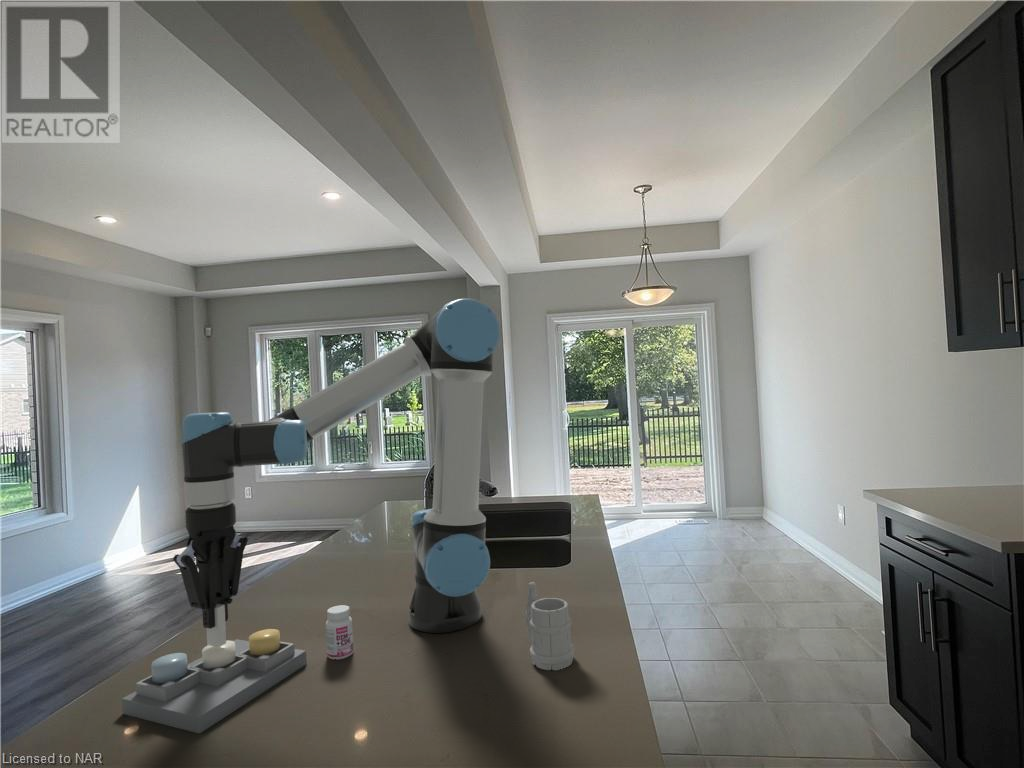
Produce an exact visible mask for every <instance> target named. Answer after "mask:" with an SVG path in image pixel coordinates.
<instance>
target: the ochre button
mask: <svg viewBox="0 0 1024 768" xmlns="http://www.w3.org/2000/svg"><path fill="white" fill-rule="evenodd" d="M280 634H281V633H280V629H276V628H265V629H262V630H258V631H256V632H253V633H252V634H250V635H249V636H248V641H249V653H250V654H252V655H264V654H269V653H271V652H274V651H276V650H277V649H279V647H280V642H281V635H280Z"/></svg>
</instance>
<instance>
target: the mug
mask: <svg viewBox="0 0 1024 768" xmlns="http://www.w3.org/2000/svg"><path fill="white" fill-rule="evenodd" d="M525 609H526V612H525V623H526V631H527V634H528V635H529V639H530V642H531V646H530V648H529V654H530V655H529V656H530V657H531V662H532V664H533V666H536V668H538V669H539V670H544V671H551V670H552V671H553V670H554V671H560V669H561V670H564V669H566V667H567V668H569V667H570V666H571V665H572V663H573V660H574V658H573V657H574V656H575V648H574V645H573V644H572V636H571V635H572V634H571V627H572V624H573V623H572V619H571V618H570V615H569V614H570V613H569V604H568V602H567V601H566V600H565V599H562V598H557V597H551V598H550V597H544V598H540V597H539V594H538V589H537V585H536V583H535V582H534V581H532V582H528V594H527V601H526V608H525ZM563 668H564V669H563Z"/></svg>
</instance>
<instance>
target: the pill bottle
mask: <svg viewBox="0 0 1024 768" xmlns="http://www.w3.org/2000/svg"><path fill="white" fill-rule="evenodd" d="M326 614H327V615H326V618H327V620H326V622H325V637H326V638H325V640H326V641H325V642H326V656H327V658H328V659H331V660H335V659H336V660H337V661H338V660H343V659H346V658H348V657H350V656H352V655H353V653H354V635H353V633H354V631H353V619H352V617H351V616H350V615H351V611H350V606H349V605H344V604H342V605H341V604H340V605H335V606H332V607H329V608H328V609H327V611H326ZM336 660H335V661H336Z"/></svg>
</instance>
